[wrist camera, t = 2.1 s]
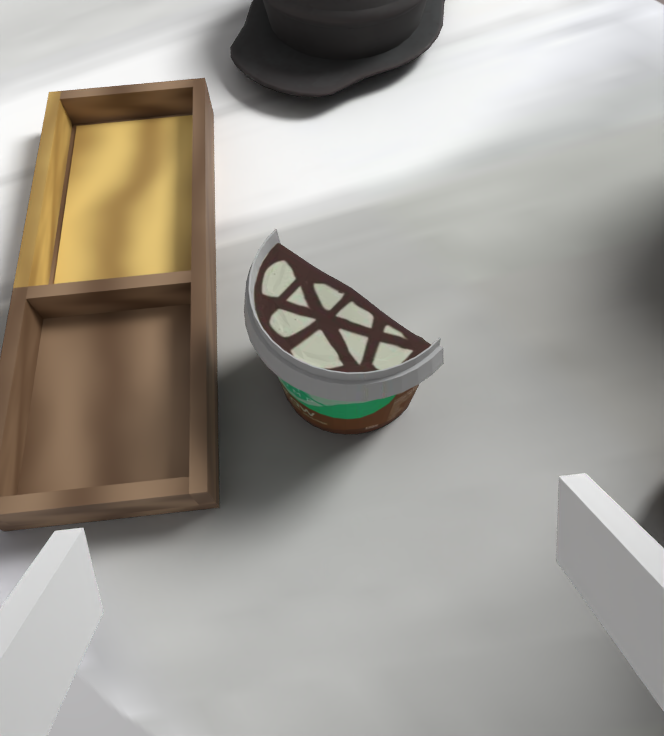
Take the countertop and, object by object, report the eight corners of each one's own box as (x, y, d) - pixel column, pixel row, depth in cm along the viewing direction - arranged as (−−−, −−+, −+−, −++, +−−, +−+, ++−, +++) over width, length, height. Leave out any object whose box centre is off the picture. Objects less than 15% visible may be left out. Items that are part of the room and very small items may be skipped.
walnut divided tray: (213, 113, 52) (204, 77, 49) (219, 507, 35) (207, 491, 32) (67, 127, 52) (49, 92, 48) (4, 531, 35) (-30, 517, 32)
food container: (225, 378, 40) (189, 294, 31) (285, 319, 42) (268, 224, 33) (366, 492, 36) (372, 433, 27) (425, 421, 38) (449, 344, 29)
